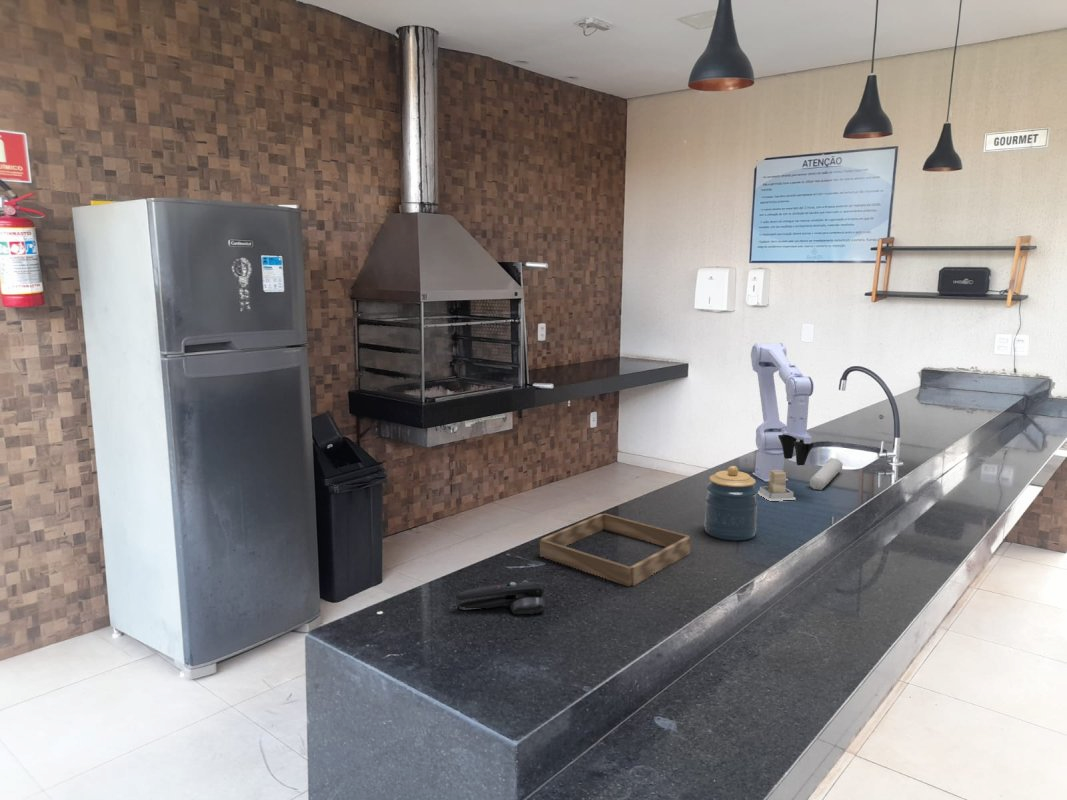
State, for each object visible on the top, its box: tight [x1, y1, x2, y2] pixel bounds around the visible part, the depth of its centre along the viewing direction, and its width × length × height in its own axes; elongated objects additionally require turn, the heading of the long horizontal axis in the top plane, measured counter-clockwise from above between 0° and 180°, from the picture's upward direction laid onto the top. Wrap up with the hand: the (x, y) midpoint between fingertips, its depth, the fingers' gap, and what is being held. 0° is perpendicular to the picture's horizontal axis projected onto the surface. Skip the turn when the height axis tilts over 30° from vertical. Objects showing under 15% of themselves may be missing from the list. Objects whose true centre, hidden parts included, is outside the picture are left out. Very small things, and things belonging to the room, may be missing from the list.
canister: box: [703, 465, 760, 542], centre depth 187 cm, size 13×13×18 cm
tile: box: [756, 490, 796, 502], centre depth 218 cm, size 8×8×1 cm
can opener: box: [455, 580, 547, 615], centre depth 146 cm, size 18×7×6 cm, turn 91°
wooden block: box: [768, 470, 787, 493], centre depth 218 cm, size 4×4×7 cm
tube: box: [809, 457, 843, 491], centre depth 235 cm, size 5×5×25 cm
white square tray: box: [759, 485, 794, 499], centre depth 218 cm, size 8×8×2 cm
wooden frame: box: [539, 513, 692, 587], centre depth 174 cm, size 26×26×4 cm
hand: (794, 461), depth 220 cm, fingers open, 7 cm apart
